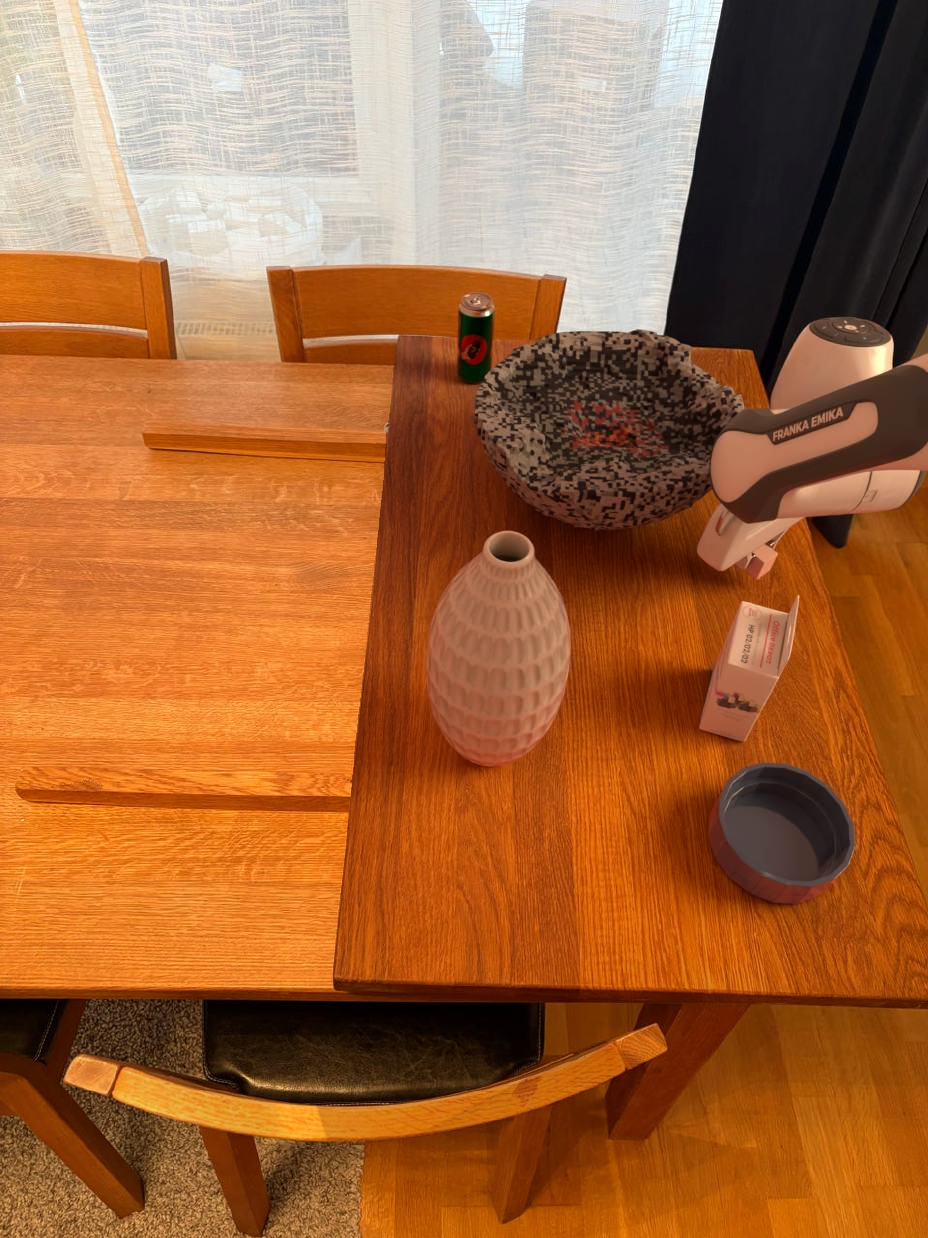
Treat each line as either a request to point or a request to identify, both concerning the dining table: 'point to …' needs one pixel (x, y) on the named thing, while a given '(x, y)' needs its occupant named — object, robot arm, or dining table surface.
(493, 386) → the bowl
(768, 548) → the eraser
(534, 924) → the dining table surface
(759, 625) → the ink box
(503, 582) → the vase
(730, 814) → the blue bowl
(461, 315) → the soda can
